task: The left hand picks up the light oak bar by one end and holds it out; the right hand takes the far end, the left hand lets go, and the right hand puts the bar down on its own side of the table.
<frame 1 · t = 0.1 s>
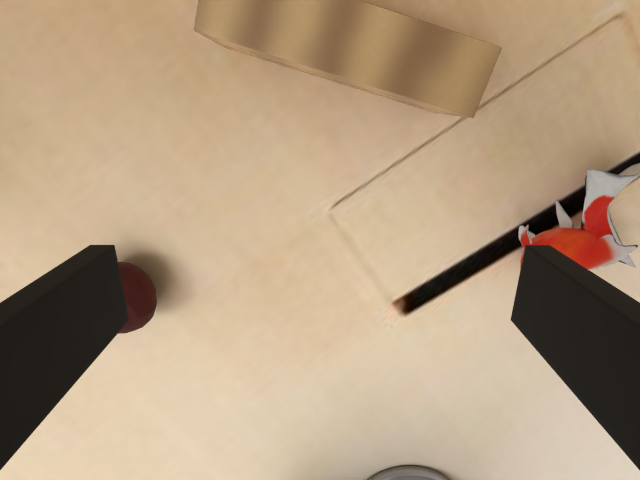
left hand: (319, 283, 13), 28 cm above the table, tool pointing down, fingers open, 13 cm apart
dark red round ball: (134, 282, 44), on the table
bar: (341, 53, 35), on the table
fish: (557, 213, 41), on the table
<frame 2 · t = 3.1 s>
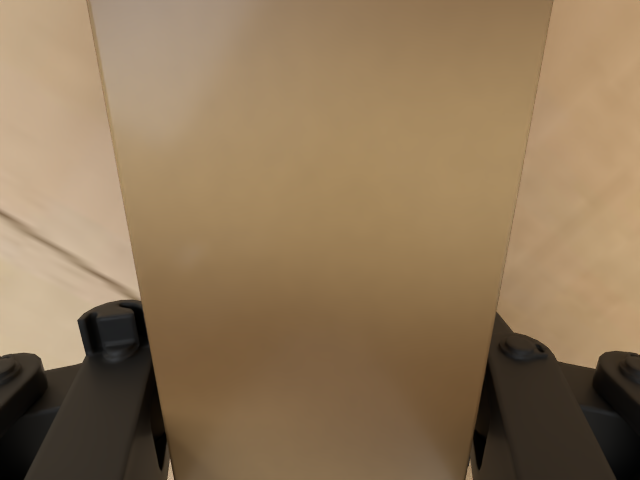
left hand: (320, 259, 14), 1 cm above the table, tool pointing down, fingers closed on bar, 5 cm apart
bar: (320, 62, 13), on the table, touching left hand
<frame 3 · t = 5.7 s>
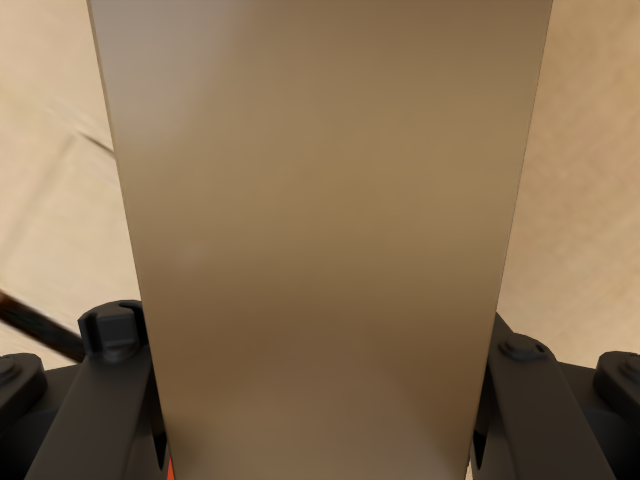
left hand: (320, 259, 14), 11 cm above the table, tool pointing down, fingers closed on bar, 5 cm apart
bar: (319, 62, 13), point 10 cm above the table, touching left hand
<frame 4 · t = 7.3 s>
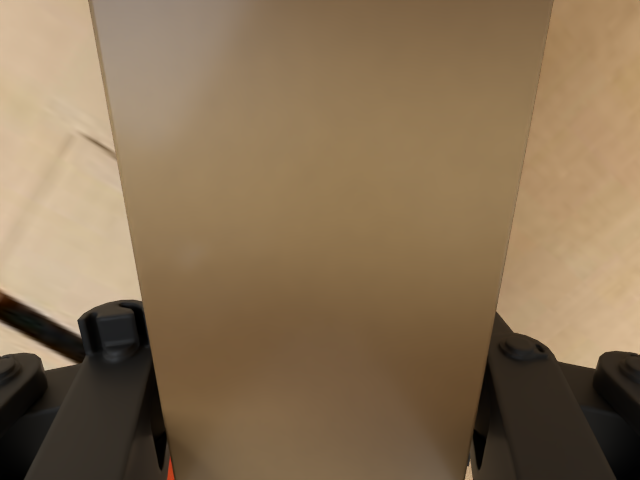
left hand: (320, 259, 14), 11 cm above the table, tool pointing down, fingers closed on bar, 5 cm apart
bar: (320, 62, 13), point 10 cm above the table, touching left hand, right hand
when the left hand's fingers open (11 cm above the table, at t = 8.3 s): bar stays where it is, held by the right hand.
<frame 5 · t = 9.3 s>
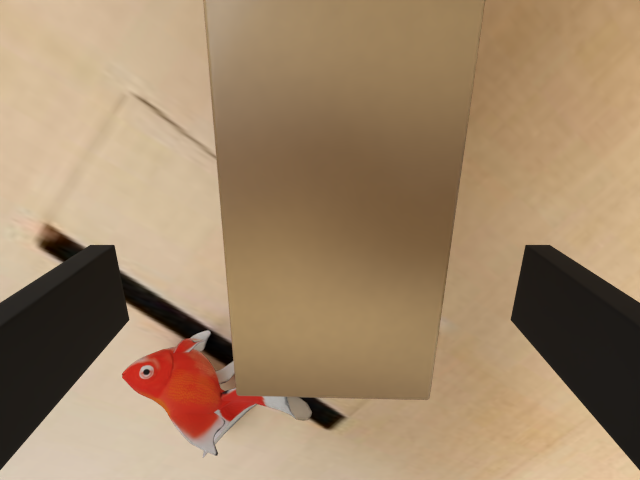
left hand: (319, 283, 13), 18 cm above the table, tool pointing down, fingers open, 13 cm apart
bar: (335, 2, 15), point 13 cm above the table, touching right hand
fish: (238, 359, 36), on the table
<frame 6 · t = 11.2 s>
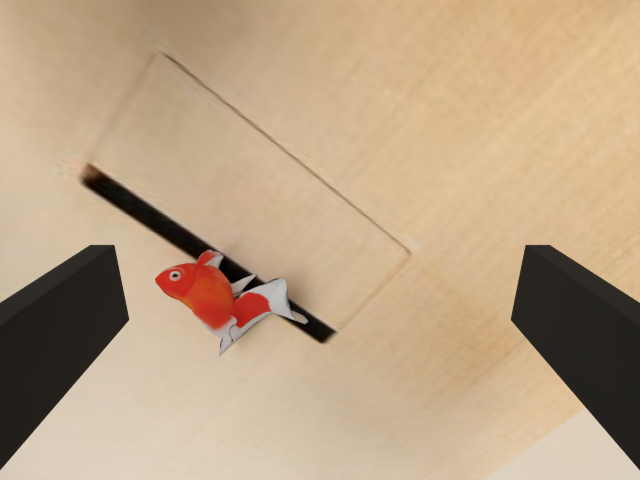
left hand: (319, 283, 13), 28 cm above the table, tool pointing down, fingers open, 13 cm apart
fish: (246, 281, 43), on the table
when the right hand's fingers open (4 cm above the table, at t = 15.2 s): bar drops 1 cm, on the table.
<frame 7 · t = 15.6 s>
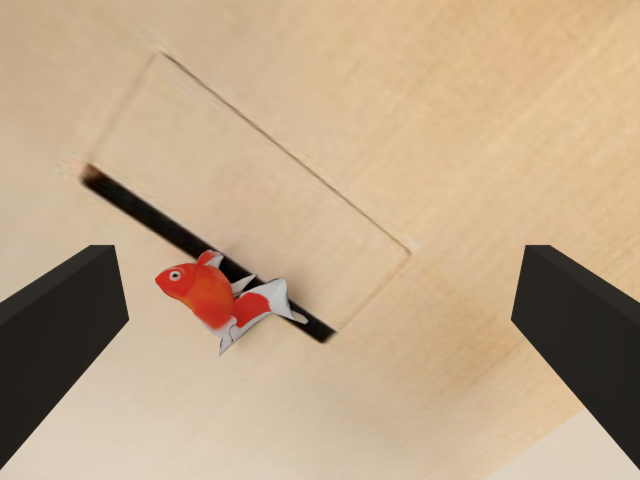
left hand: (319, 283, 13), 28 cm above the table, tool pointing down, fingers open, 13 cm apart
fish: (246, 281, 43), on the table
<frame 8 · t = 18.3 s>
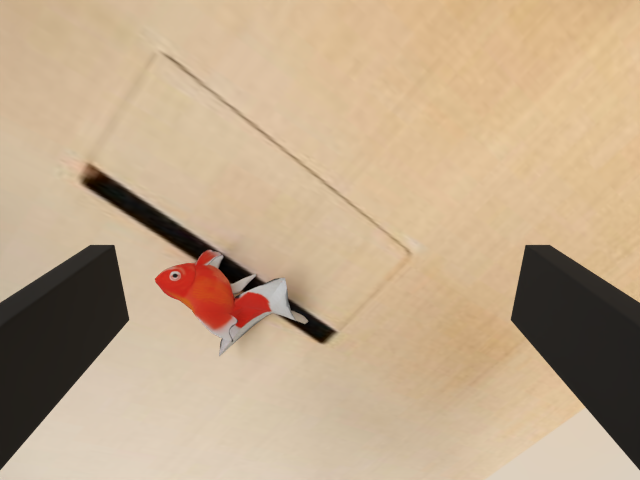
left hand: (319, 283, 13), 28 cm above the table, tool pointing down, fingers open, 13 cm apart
fish: (246, 281, 43), on the table
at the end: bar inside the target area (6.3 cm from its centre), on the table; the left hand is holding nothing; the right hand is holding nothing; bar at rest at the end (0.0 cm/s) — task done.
